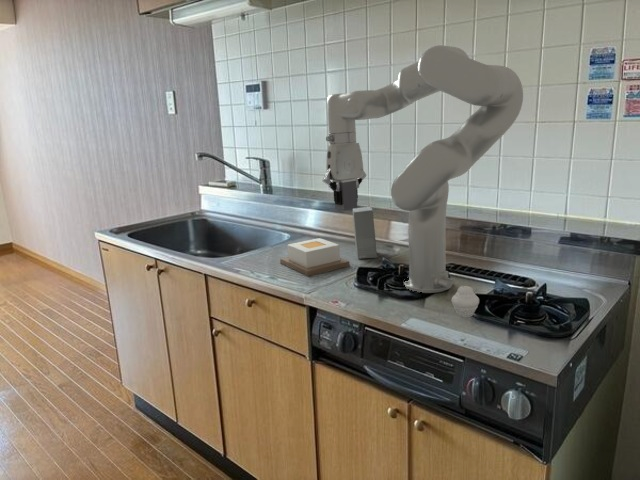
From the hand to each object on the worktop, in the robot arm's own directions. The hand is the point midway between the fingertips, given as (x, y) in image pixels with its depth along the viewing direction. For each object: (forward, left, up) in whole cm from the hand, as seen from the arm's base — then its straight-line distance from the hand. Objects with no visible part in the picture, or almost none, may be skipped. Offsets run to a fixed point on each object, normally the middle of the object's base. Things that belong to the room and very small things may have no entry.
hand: (346, 202), depth 147 cm
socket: (+14, +4, -21) cm, 26 cm away
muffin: (-44, -2, -21) cm, 49 cm away
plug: (0, 0, -2) cm, 2 cm away
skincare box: (+11, -14, -21) cm, 28 cm away
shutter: (+14, +4, -16) cm, 21 cm away
